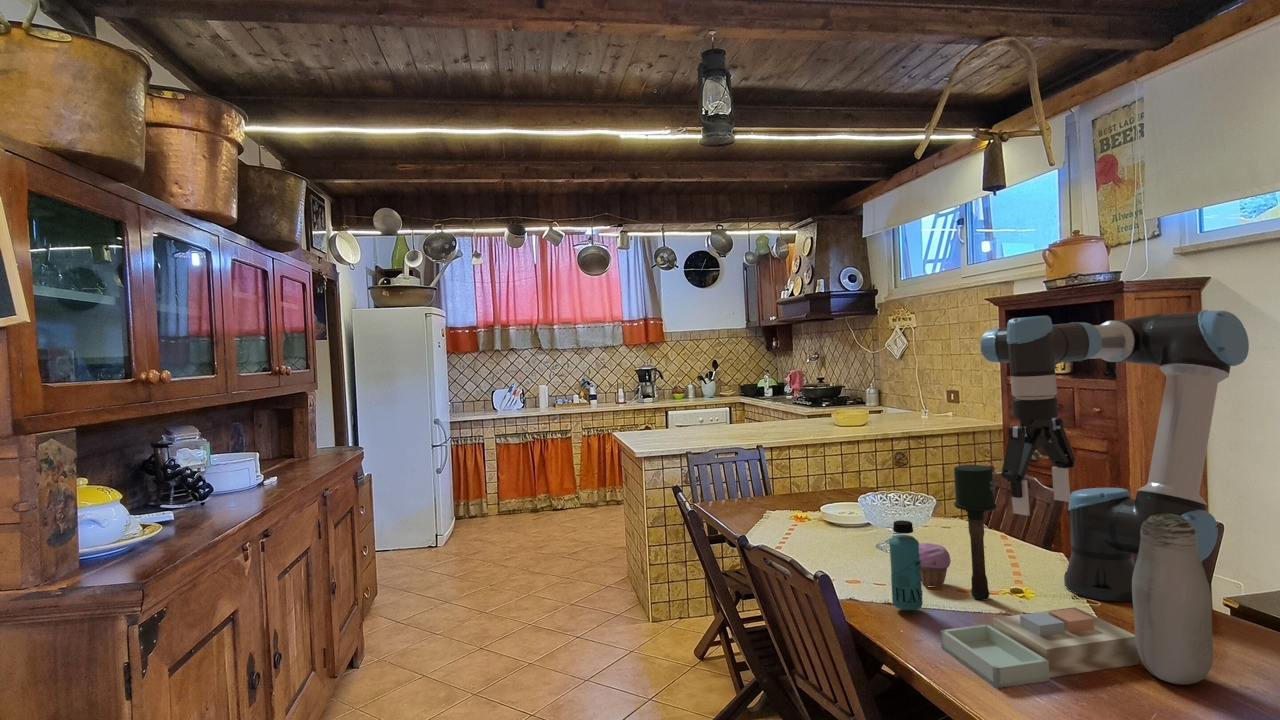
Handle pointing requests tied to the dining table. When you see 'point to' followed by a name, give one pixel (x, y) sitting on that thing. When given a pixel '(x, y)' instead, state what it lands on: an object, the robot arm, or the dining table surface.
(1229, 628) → the dining table surface
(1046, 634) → the tile slate
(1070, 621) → the tile terracotta
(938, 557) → the cupcake
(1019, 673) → the tray
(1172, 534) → the grey tall rounded cylinder
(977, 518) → the potato masher grenade
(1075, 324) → the robot arm
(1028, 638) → the board
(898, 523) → the beverage bottle
